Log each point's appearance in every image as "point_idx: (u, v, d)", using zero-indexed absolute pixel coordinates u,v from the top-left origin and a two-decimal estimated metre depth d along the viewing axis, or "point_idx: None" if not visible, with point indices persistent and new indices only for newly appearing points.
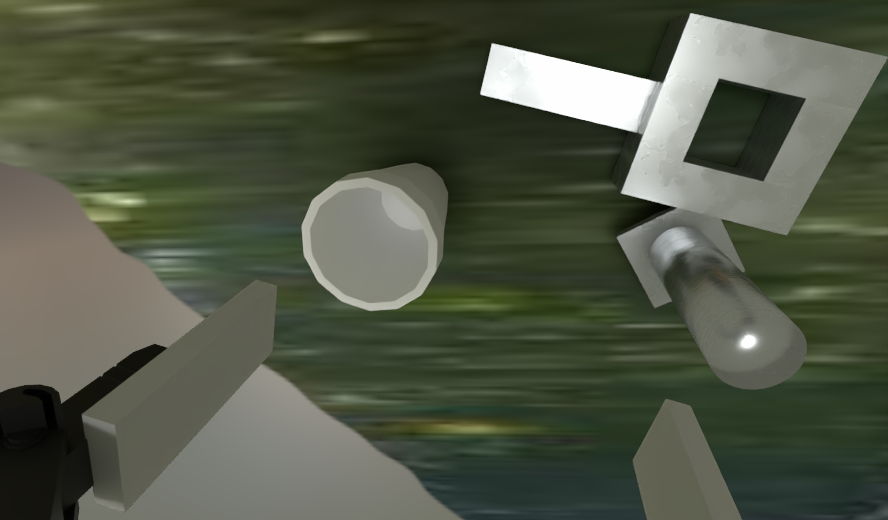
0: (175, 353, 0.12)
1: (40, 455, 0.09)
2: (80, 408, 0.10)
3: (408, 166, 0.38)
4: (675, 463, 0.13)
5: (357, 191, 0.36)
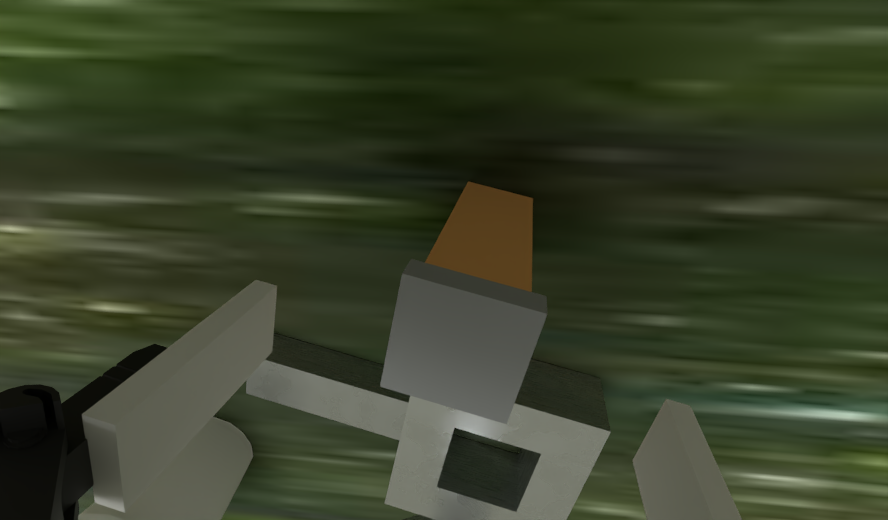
0: (175, 353, 0.12)
1: (40, 455, 0.09)
2: (81, 407, 0.10)
3: (188, 446, 0.37)
4: (675, 463, 0.13)
5: None
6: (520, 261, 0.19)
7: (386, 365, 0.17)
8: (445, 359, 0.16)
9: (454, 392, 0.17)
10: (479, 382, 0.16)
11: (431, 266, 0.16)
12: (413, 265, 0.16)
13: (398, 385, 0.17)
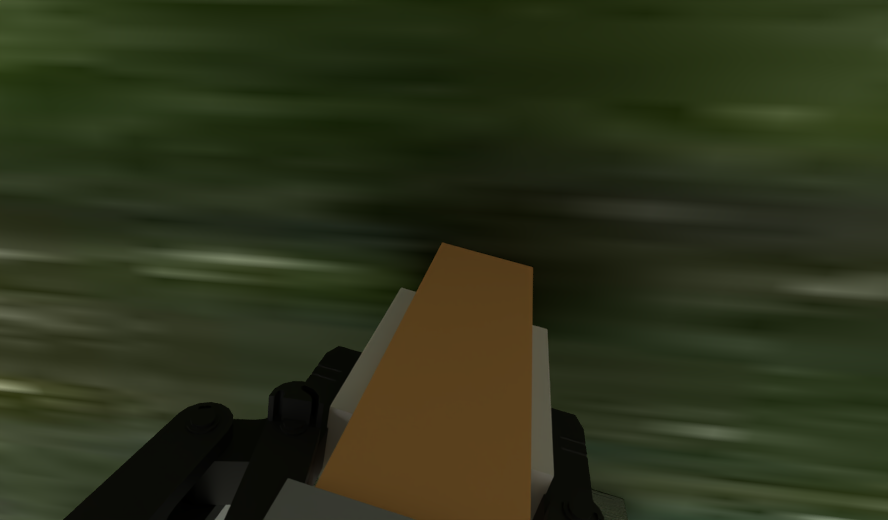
0: (372, 354, 0.13)
1: (300, 446, 0.10)
2: None
3: None
4: None
5: None
6: (510, 428, 0.11)
7: None
8: None
9: None
10: None
11: (326, 499, 0.08)
12: (286, 503, 0.08)
13: None
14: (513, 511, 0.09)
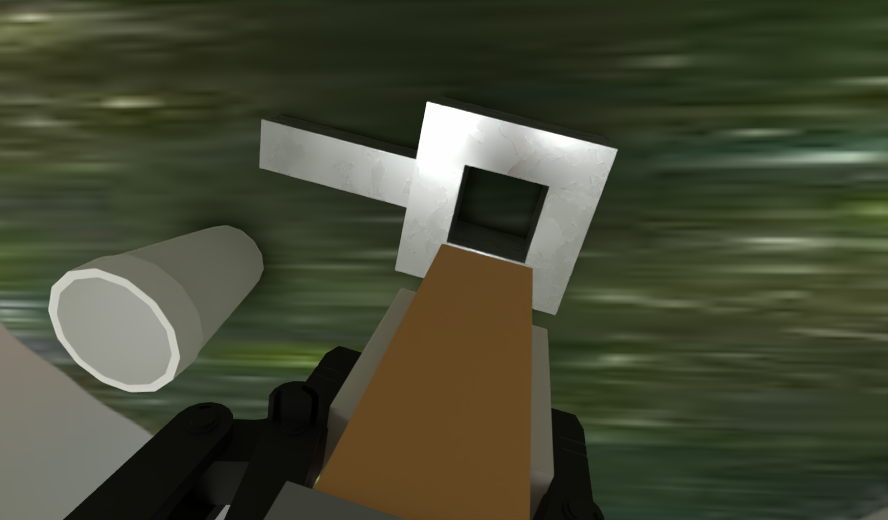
0: (372, 354, 0.13)
1: (300, 446, 0.10)
2: None
3: (201, 235, 0.37)
4: None
5: None
6: (510, 430, 0.11)
7: None
8: None
9: None
10: None
11: (325, 502, 0.08)
12: (284, 506, 0.08)
13: None
14: (512, 514, 0.09)
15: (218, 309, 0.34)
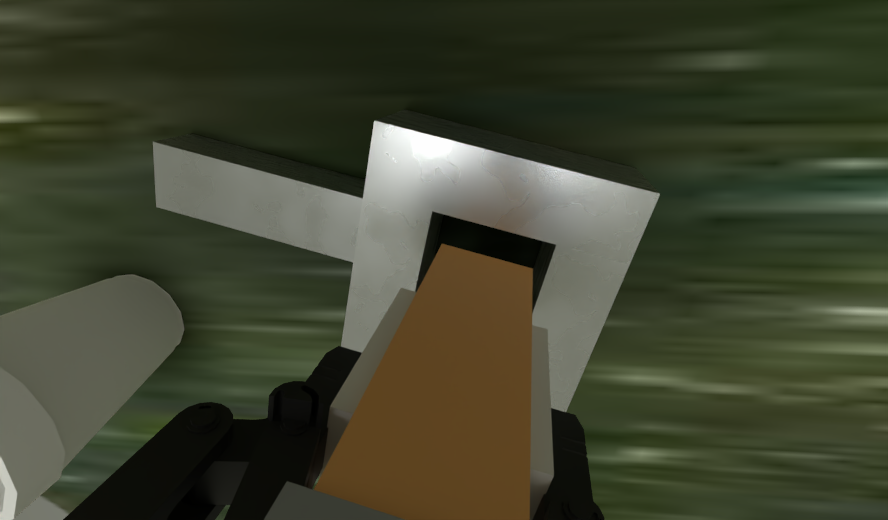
0: (372, 354, 0.13)
1: (300, 446, 0.10)
2: None
3: (88, 293, 0.28)
4: None
5: None
6: (510, 430, 0.11)
7: None
8: None
9: None
10: None
11: (324, 502, 0.08)
12: (284, 507, 0.08)
13: None
14: (512, 514, 0.09)
15: (98, 403, 0.25)
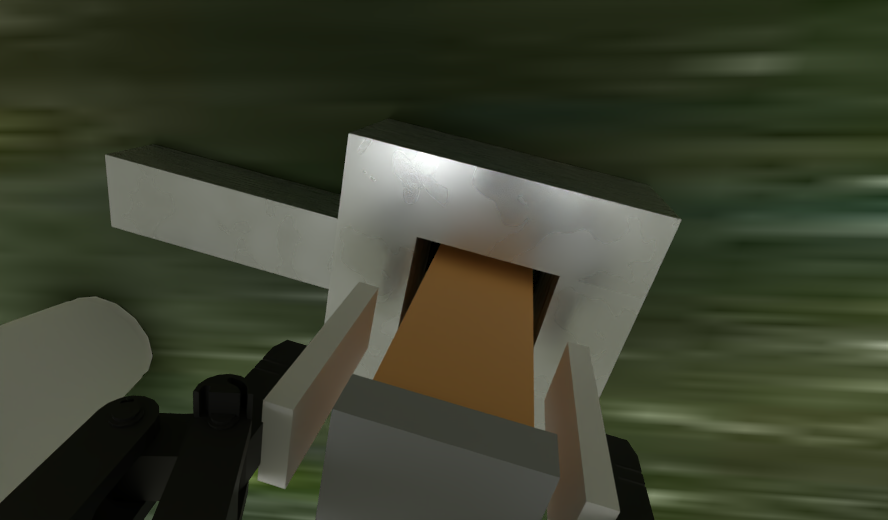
0: (317, 348, 0.13)
1: (231, 439, 0.10)
2: None
3: (40, 320, 0.25)
4: (565, 391, 0.15)
5: None
6: (517, 354, 0.13)
7: None
8: None
9: None
10: None
11: (382, 387, 0.10)
12: (354, 388, 0.10)
13: None
14: (520, 405, 0.12)
15: (44, 447, 0.22)
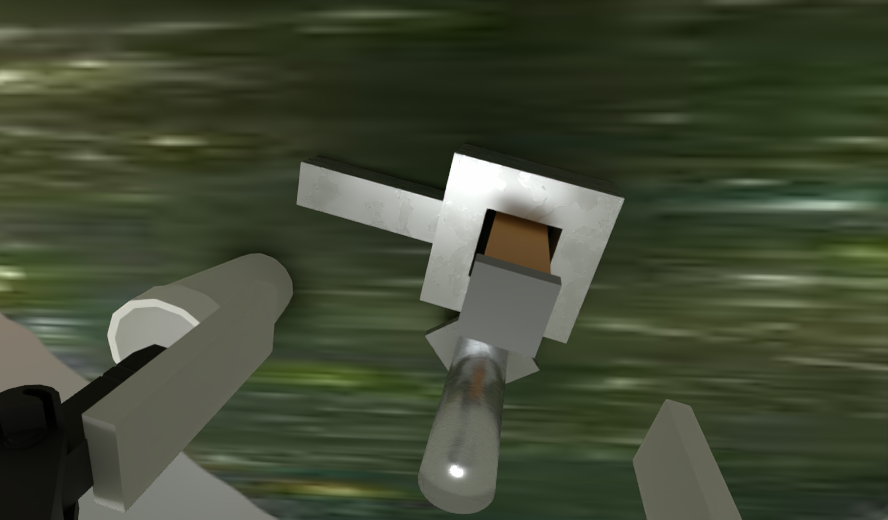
0: (175, 353, 0.12)
1: (40, 455, 0.09)
2: (80, 407, 0.10)
3: (240, 263, 0.41)
4: (674, 463, 0.13)
5: None
6: (542, 257, 0.29)
7: (460, 319, 0.27)
8: (498, 315, 0.26)
9: (502, 337, 0.27)
10: (518, 330, 0.26)
11: (490, 257, 0.26)
12: (480, 256, 0.26)
13: (466, 333, 0.27)
14: (545, 271, 0.27)
15: None
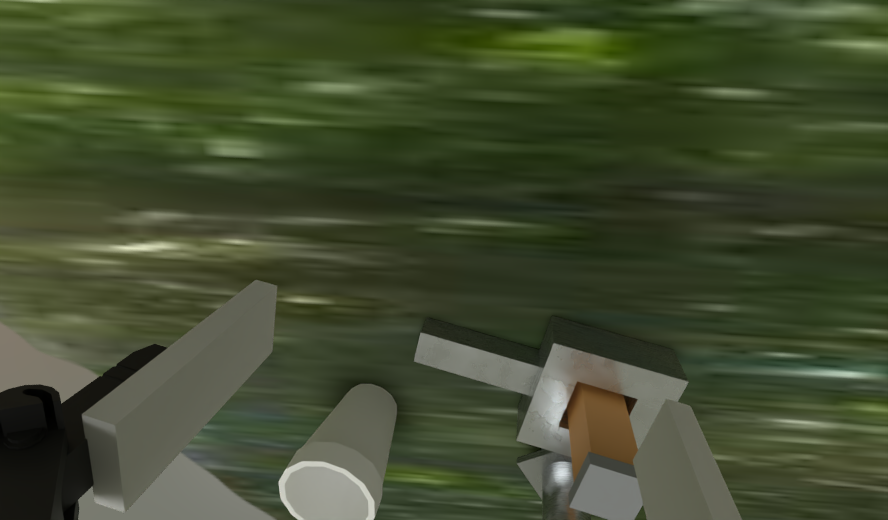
0: (175, 353, 0.12)
1: (40, 455, 0.09)
2: (80, 407, 0.10)
3: (362, 402, 0.50)
4: (675, 463, 0.13)
5: None
6: (629, 439, 0.38)
7: (574, 498, 0.36)
8: (604, 498, 0.35)
9: (606, 511, 0.36)
10: (619, 508, 0.35)
11: (598, 456, 0.35)
12: (591, 456, 0.35)
13: (579, 507, 0.36)
14: None
15: (385, 467, 0.47)
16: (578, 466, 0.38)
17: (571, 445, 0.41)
